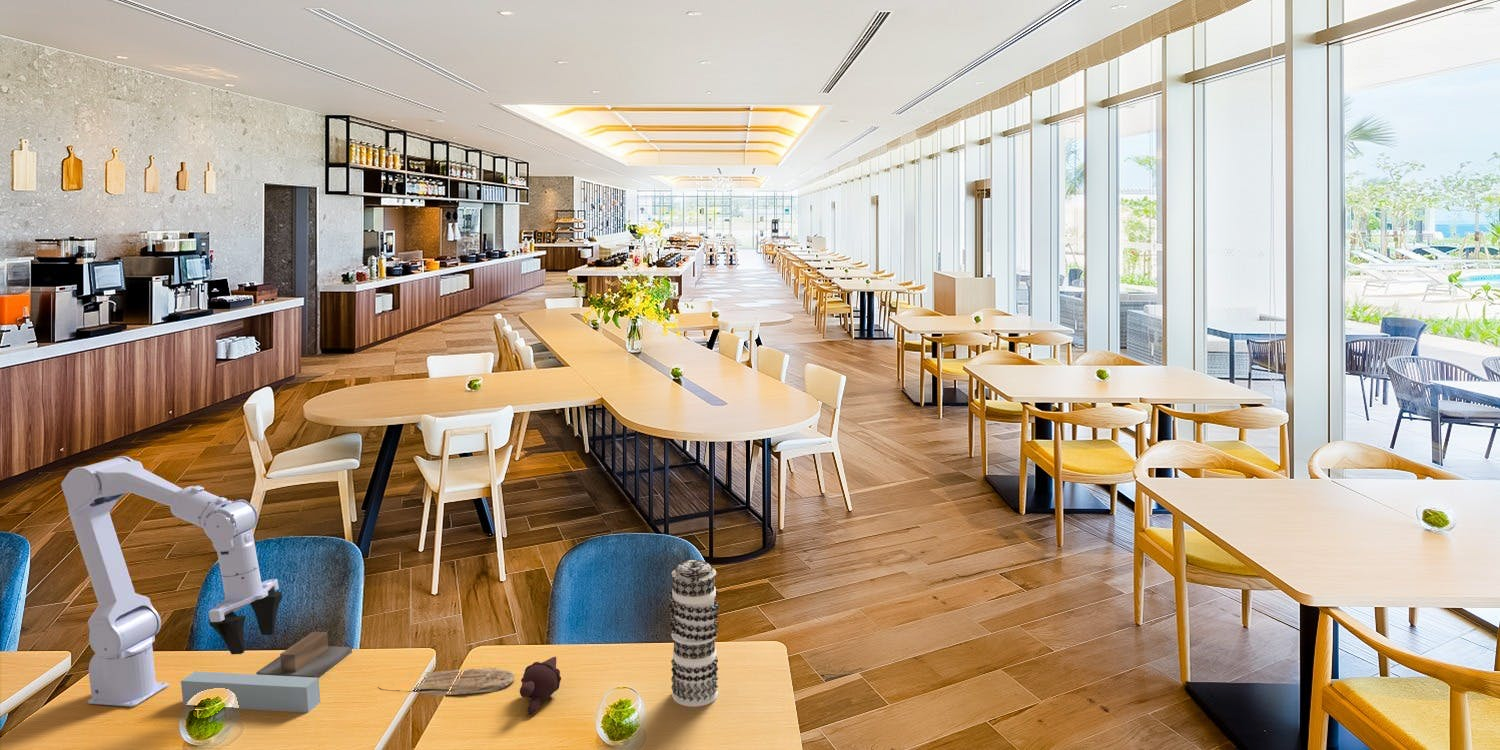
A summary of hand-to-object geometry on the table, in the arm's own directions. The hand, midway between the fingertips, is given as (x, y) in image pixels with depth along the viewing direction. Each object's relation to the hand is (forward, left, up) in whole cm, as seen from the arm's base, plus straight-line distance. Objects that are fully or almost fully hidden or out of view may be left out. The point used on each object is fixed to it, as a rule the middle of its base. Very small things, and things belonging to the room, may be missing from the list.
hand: (253, 643), depth 149 cm
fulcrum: (-1, +15, -12) cm, 19 cm away
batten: (-1, 0, -12) cm, 12 cm away
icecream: (+50, +9, -12) cm, 52 cm away
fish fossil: (+30, +12, -12) cm, 34 cm away
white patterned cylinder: (+78, +13, -12) cm, 80 cm away
